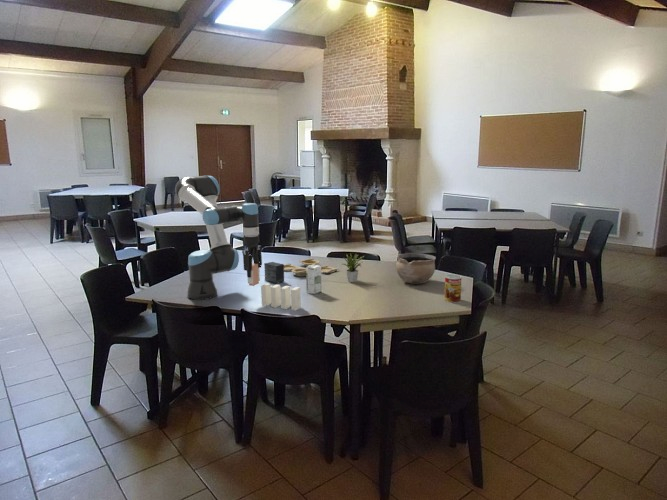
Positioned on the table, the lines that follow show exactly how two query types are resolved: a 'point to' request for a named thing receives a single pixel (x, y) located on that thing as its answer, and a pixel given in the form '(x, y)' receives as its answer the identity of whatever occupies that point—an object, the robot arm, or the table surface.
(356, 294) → the table surface
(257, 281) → the domino
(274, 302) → the domino
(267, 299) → the domino
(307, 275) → the syrup box
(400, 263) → the ceramic bowl
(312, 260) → the tableware set
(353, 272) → the house plant
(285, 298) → the domino
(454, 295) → the canned food
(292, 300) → the domino
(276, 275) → the small box
